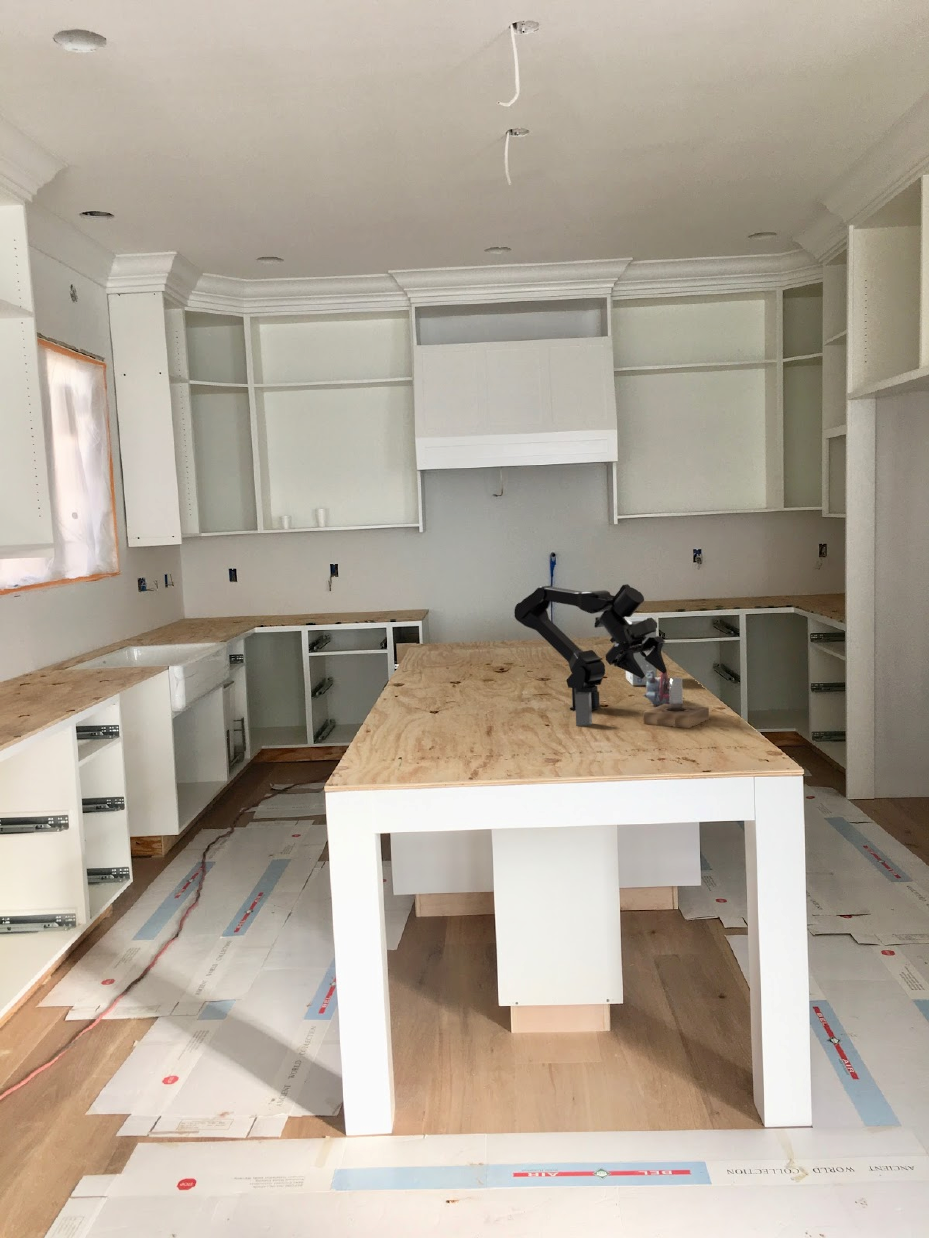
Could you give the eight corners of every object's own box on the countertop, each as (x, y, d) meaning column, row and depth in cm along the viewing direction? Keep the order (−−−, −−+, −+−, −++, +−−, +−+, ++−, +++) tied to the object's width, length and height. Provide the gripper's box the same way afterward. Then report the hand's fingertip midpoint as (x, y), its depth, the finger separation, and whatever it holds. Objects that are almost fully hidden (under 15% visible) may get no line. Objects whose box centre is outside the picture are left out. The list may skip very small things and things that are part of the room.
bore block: (643, 723, 247) (643, 711, 247) (664, 715, 256) (664, 703, 256) (688, 728, 240) (688, 715, 239) (709, 719, 249) (708, 707, 249)
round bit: (669, 722, 247) (668, 679, 246) (670, 720, 250) (669, 677, 249) (682, 722, 246) (682, 679, 245) (683, 720, 249) (682, 676, 248)
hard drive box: (657, 685, 301) (656, 620, 299) (632, 686, 301) (630, 621, 299) (649, 677, 316) (647, 615, 314) (625, 678, 316) (623, 616, 315)
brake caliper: (686, 698, 265) (657, 662, 267) (653, 722, 269) (626, 686, 270) (692, 691, 276) (664, 657, 277) (661, 714, 279) (634, 680, 281)
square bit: (576, 725, 248) (575, 694, 247) (578, 723, 251) (577, 691, 250) (589, 726, 247) (588, 694, 246) (592, 723, 250) (591, 692, 249)
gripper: (613, 611, 247) (650, 659, 240) (658, 605, 260) (694, 650, 253) (589, 640, 254) (625, 687, 247) (634, 633, 266) (669, 677, 260)
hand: (654, 674), depth 251 cm, fingers open, 9 cm apart
